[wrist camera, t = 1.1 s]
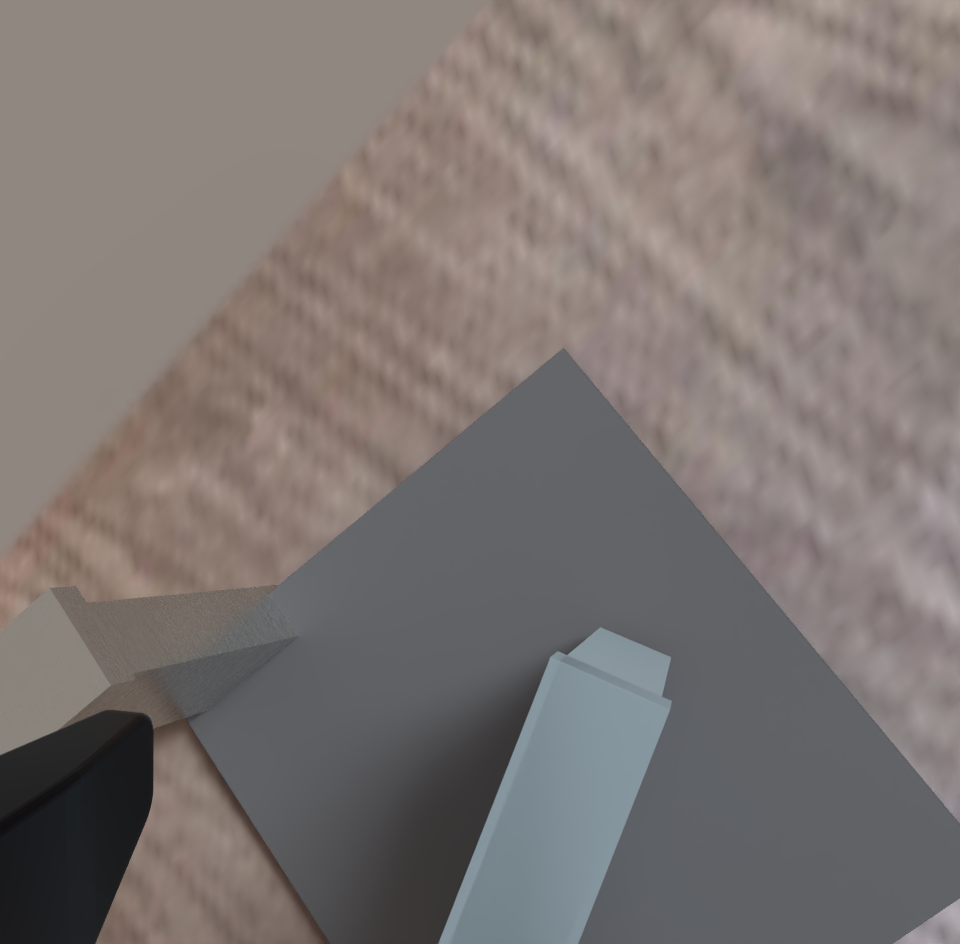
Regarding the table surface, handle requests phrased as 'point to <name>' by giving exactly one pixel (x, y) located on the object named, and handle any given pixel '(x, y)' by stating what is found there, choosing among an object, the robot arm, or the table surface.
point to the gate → (564, 796)
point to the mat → (514, 683)
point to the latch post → (131, 656)
